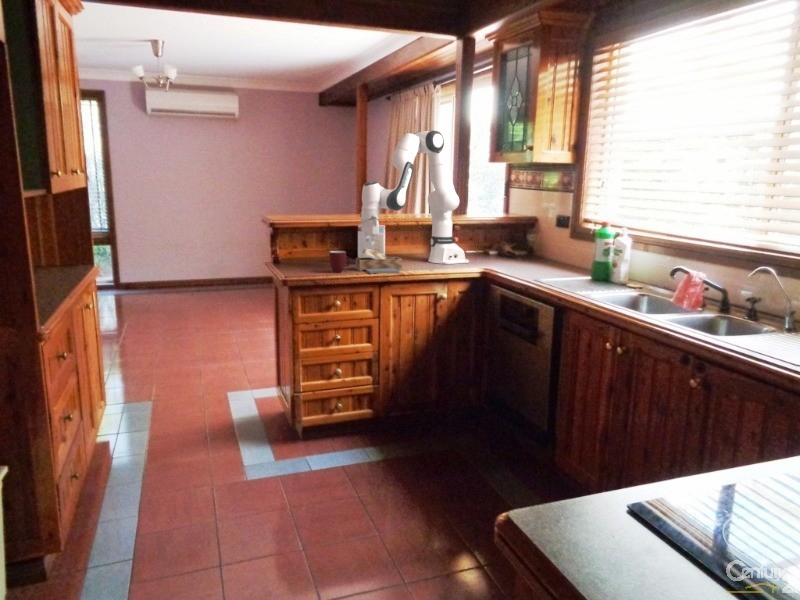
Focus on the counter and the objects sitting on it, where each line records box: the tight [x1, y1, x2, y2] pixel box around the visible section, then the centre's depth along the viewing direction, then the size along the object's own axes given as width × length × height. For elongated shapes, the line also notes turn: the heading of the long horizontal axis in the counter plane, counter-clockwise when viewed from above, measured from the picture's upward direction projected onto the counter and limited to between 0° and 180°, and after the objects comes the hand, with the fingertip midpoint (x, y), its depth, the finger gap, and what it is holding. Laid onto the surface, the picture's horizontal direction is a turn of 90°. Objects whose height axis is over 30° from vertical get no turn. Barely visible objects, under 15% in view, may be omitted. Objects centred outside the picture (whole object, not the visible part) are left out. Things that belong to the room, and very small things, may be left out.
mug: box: [328, 250, 351, 274], centre depth 300 cm, size 10×8×10 cm
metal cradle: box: [361, 252, 379, 259], centre depth 311 cm, size 19×6×2 cm, turn 109°
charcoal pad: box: [365, 268, 400, 275], centre depth 303 cm, size 15×8×1 cm, turn 109°
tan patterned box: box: [355, 256, 403, 272], centre depth 311 cm, size 22×8×6 cm, turn 109°
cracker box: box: [357, 223, 386, 258], centre depth 326 cm, size 14×6×21 cm, turn 84°
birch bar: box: [363, 248, 387, 259], centre depth 309 cm, size 11×4×2 cm, turn 109°
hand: (369, 243), depth 307 cm, fingers open, 8 cm apart
